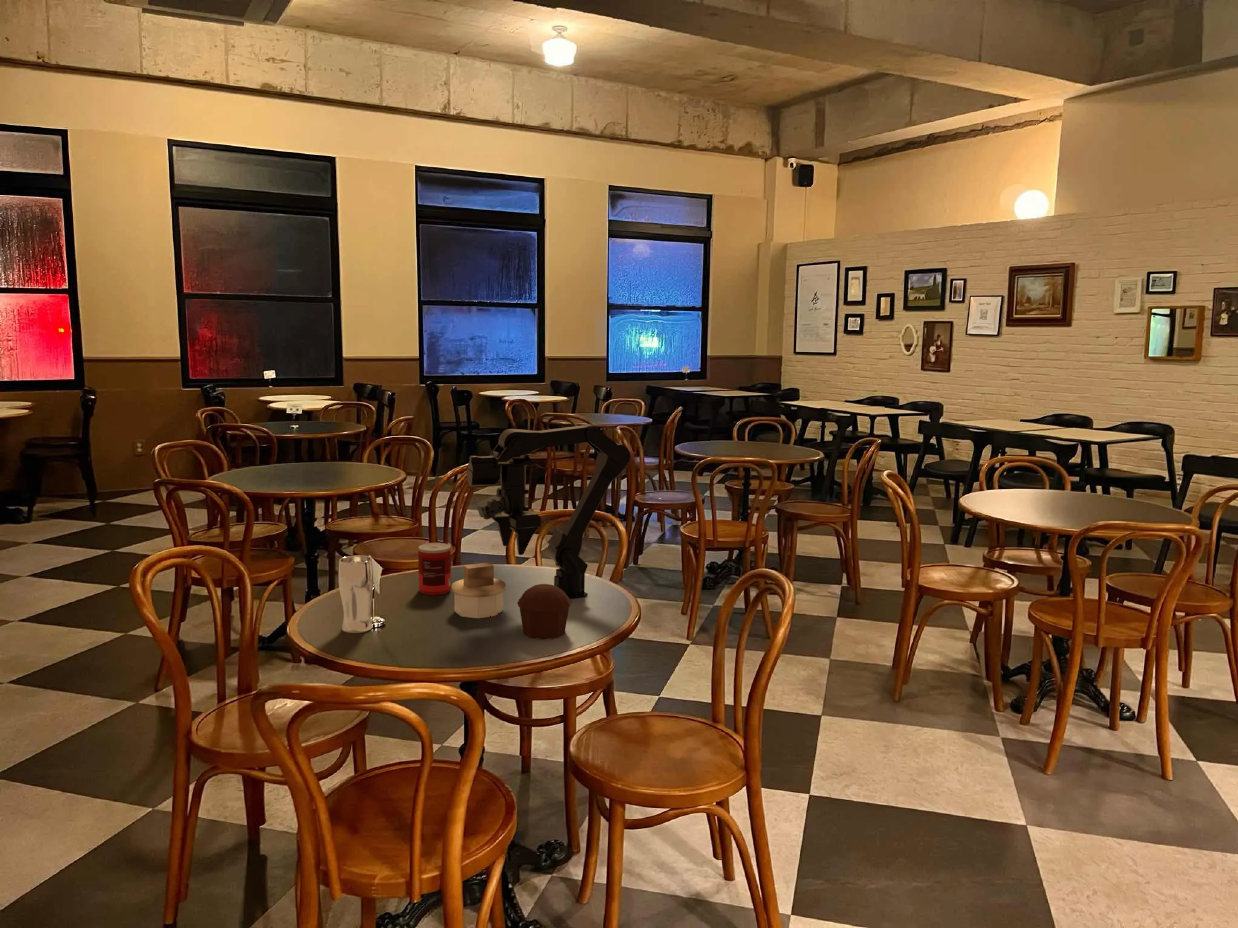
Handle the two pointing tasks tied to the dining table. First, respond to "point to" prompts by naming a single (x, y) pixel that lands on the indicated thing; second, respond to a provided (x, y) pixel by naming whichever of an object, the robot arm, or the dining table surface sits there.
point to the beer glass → (356, 592)
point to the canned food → (434, 568)
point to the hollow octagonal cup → (478, 606)
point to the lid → (478, 581)
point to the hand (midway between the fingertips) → (513, 550)
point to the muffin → (544, 611)
